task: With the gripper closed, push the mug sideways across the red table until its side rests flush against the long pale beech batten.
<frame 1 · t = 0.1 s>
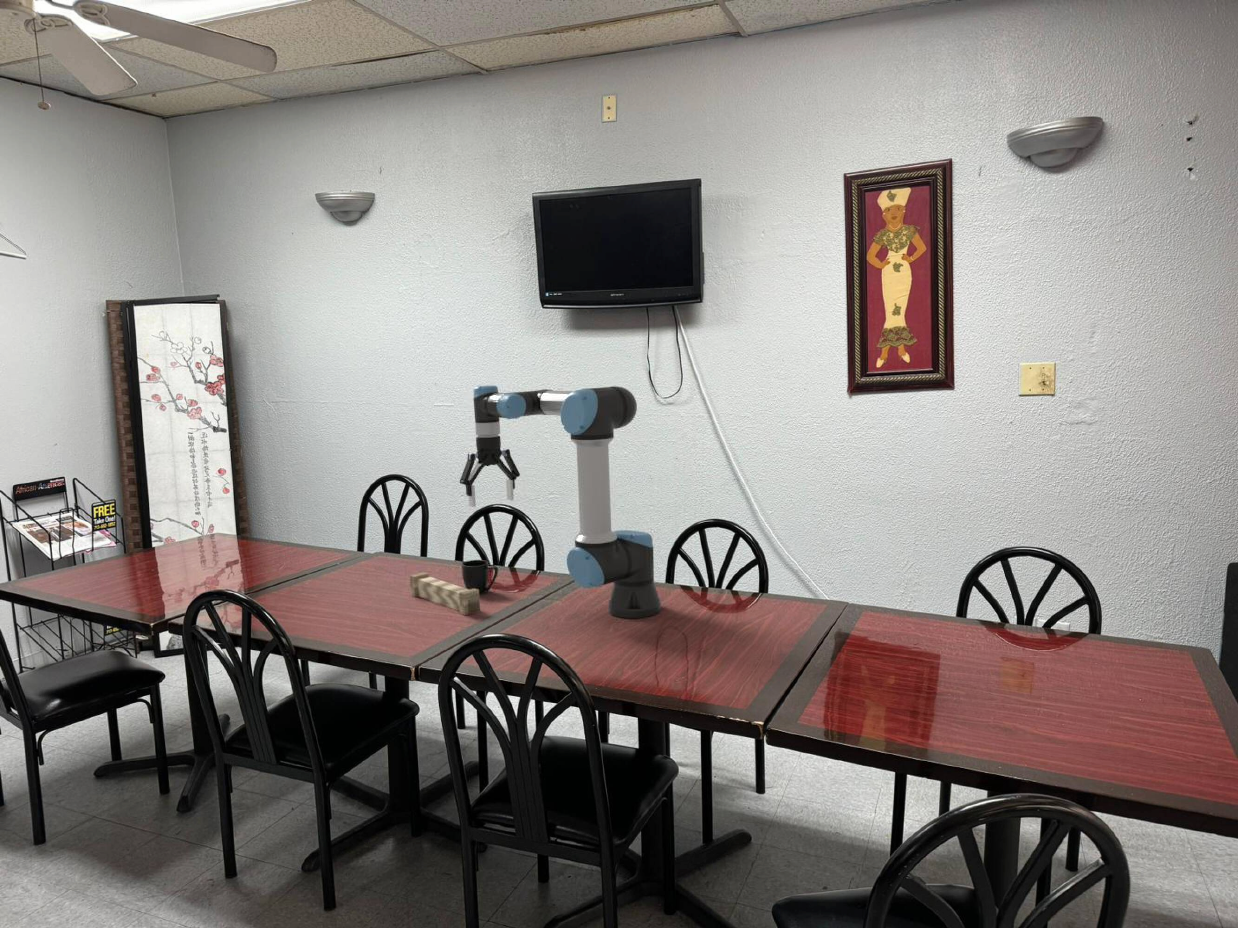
hand: (491, 503, 277), 28 cm above the table, fingers open, 13 cm apart
mug: (481, 593, 277), on the table
batten: (446, 602, 268), on the table
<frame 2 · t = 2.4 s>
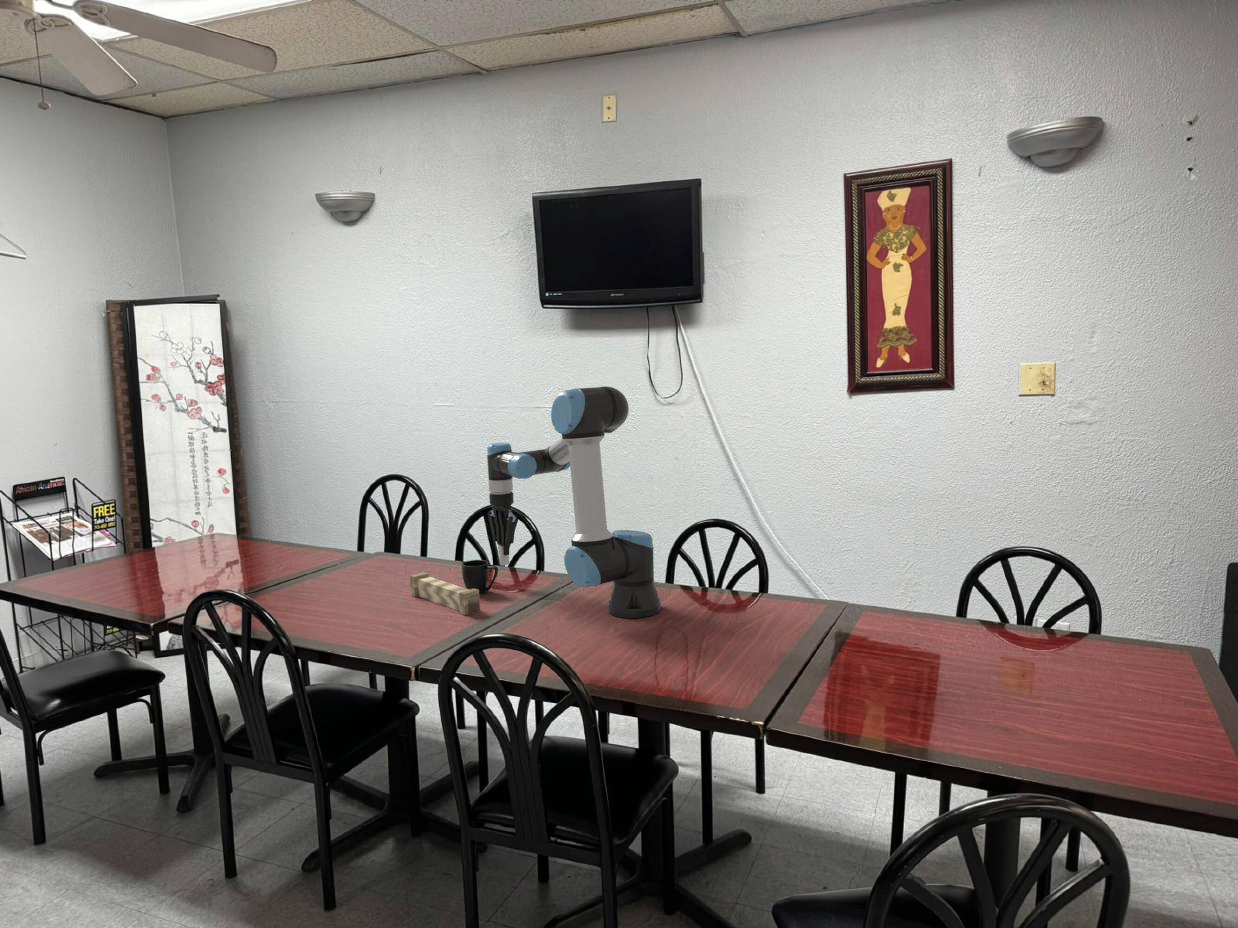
hand: (504, 564, 283), 7 cm above the table, fingers closed
nothing on the table moved.
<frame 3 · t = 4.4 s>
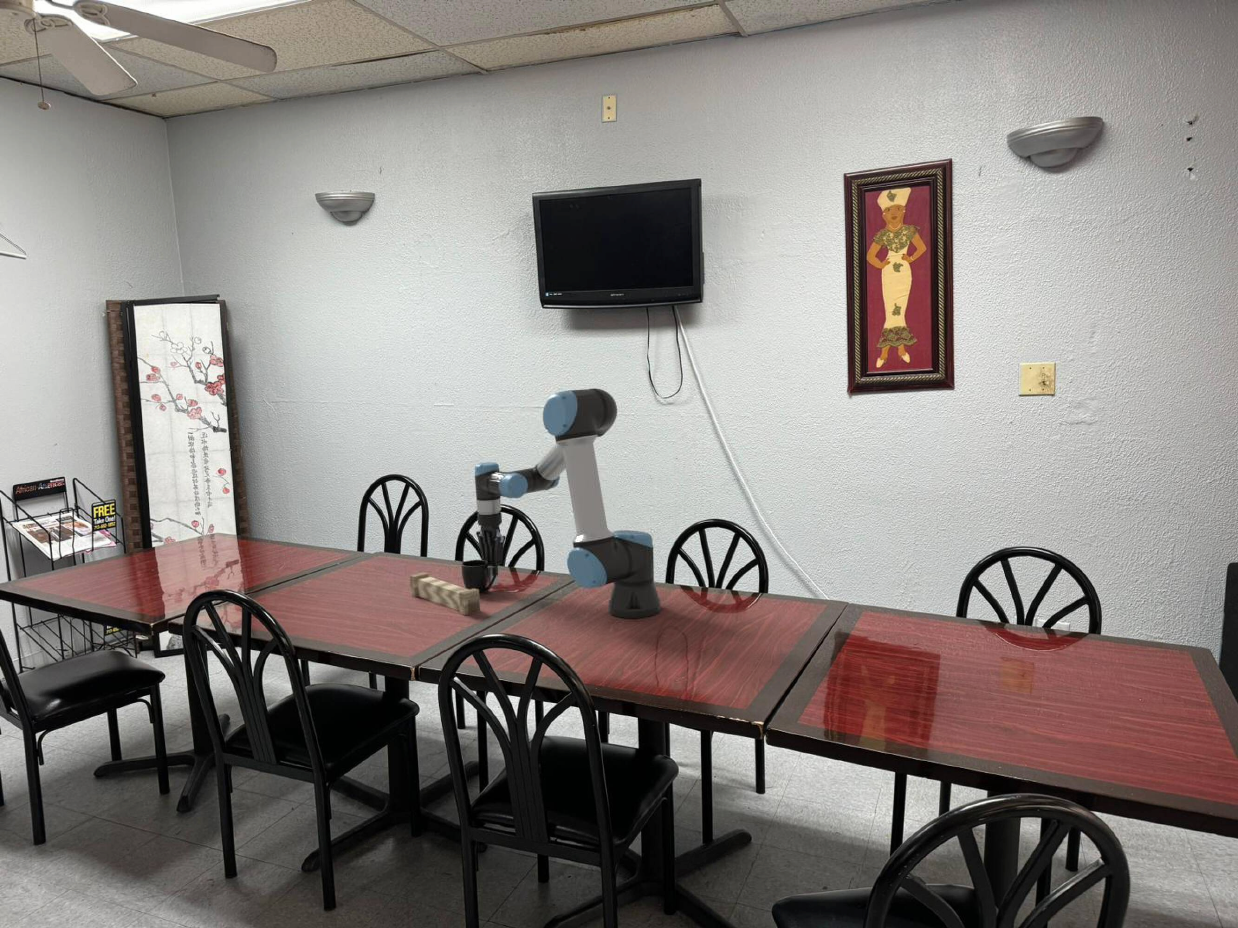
hand: (493, 584, 280), 2 cm above the table, fingers closed
mug: (481, 593, 277), on the table, touching gripper
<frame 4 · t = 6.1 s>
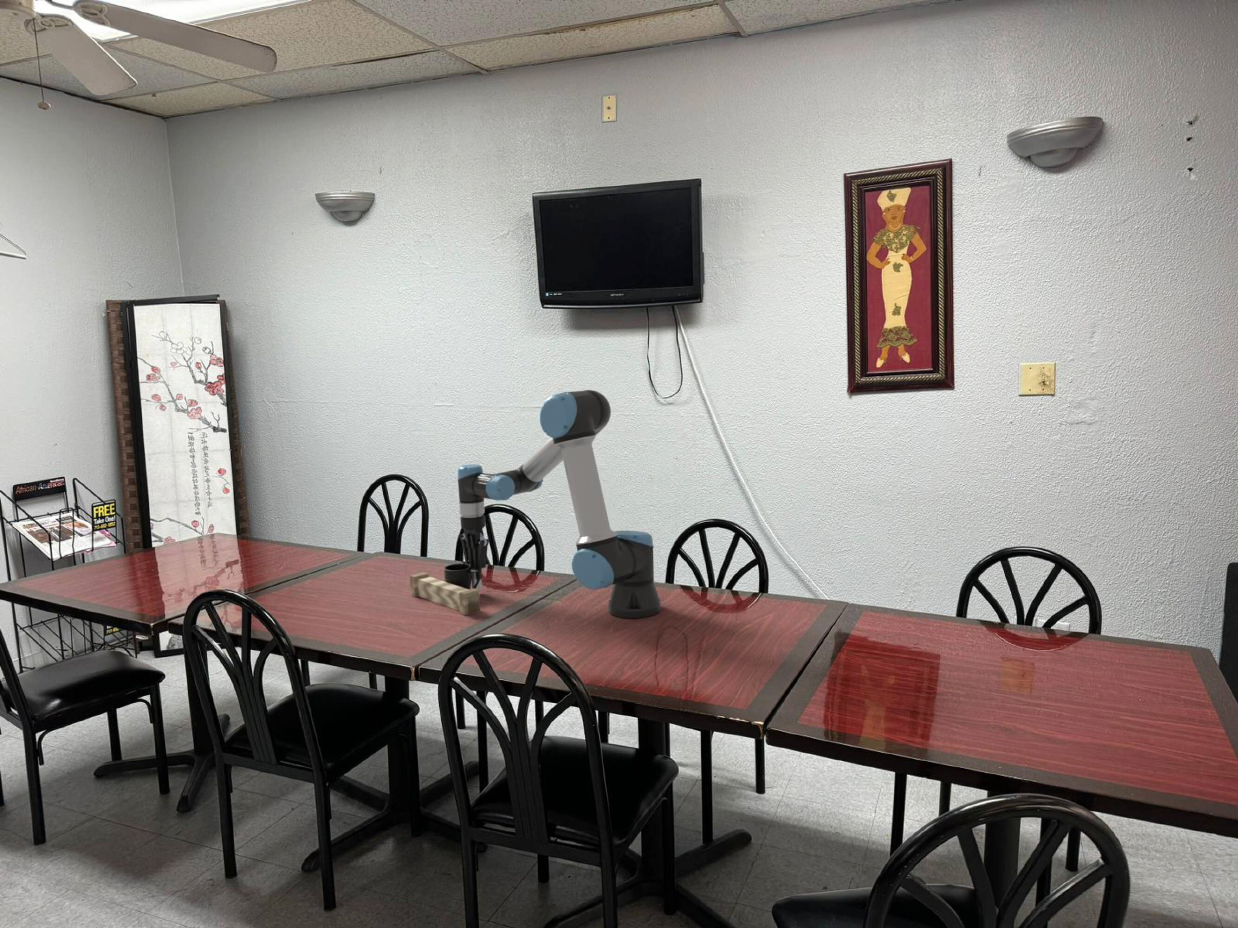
hand: (477, 588, 276), 2 cm above the table, fingers closed
mug: (465, 597, 273), on the table, touching gripper
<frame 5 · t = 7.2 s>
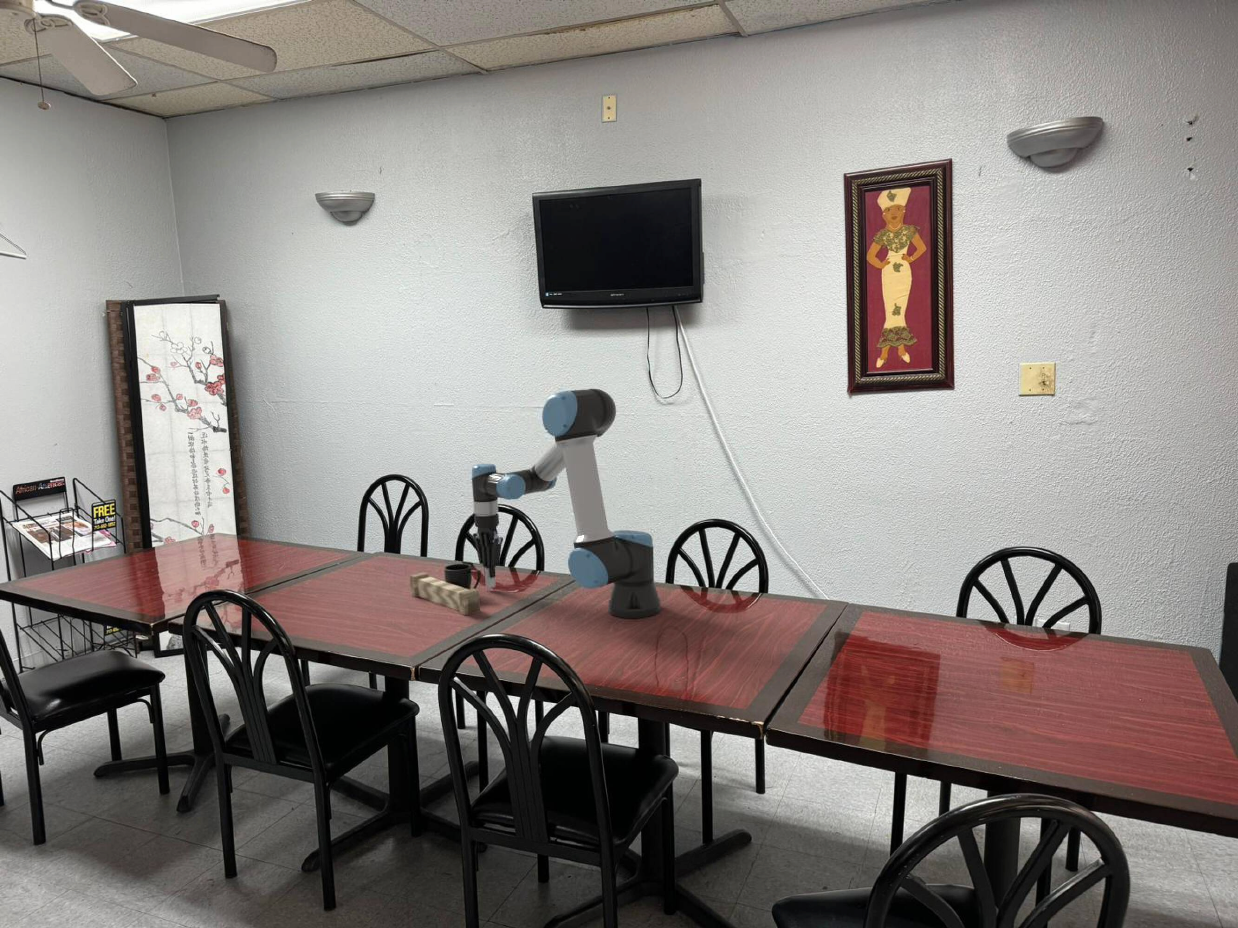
hand: (490, 586, 279), 1 cm above the table, fingers closed
mug: (464, 598, 273), on the table
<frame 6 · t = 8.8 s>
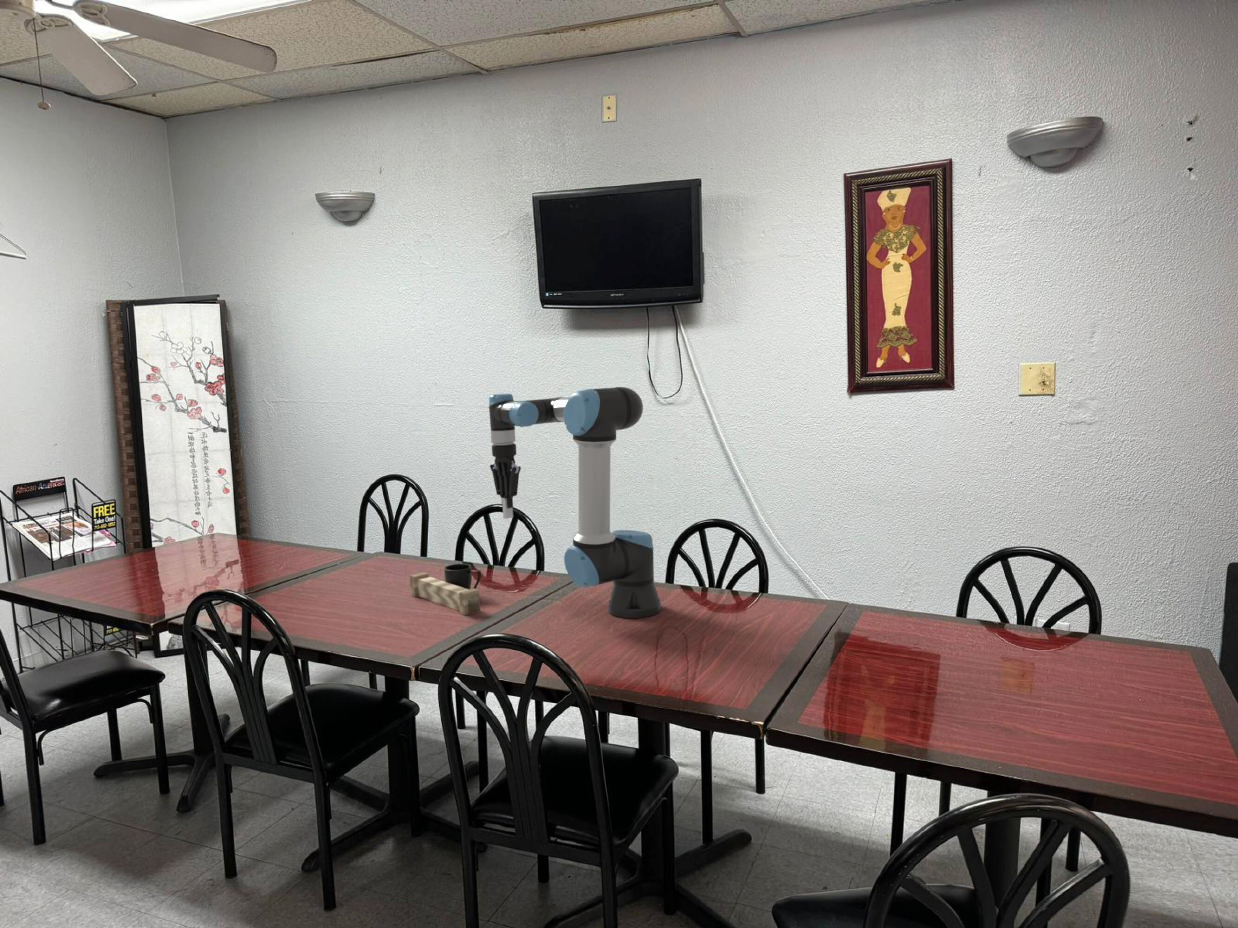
hand: (508, 517, 279), 23 cm above the table, fingers closed
nothing on the table moved.
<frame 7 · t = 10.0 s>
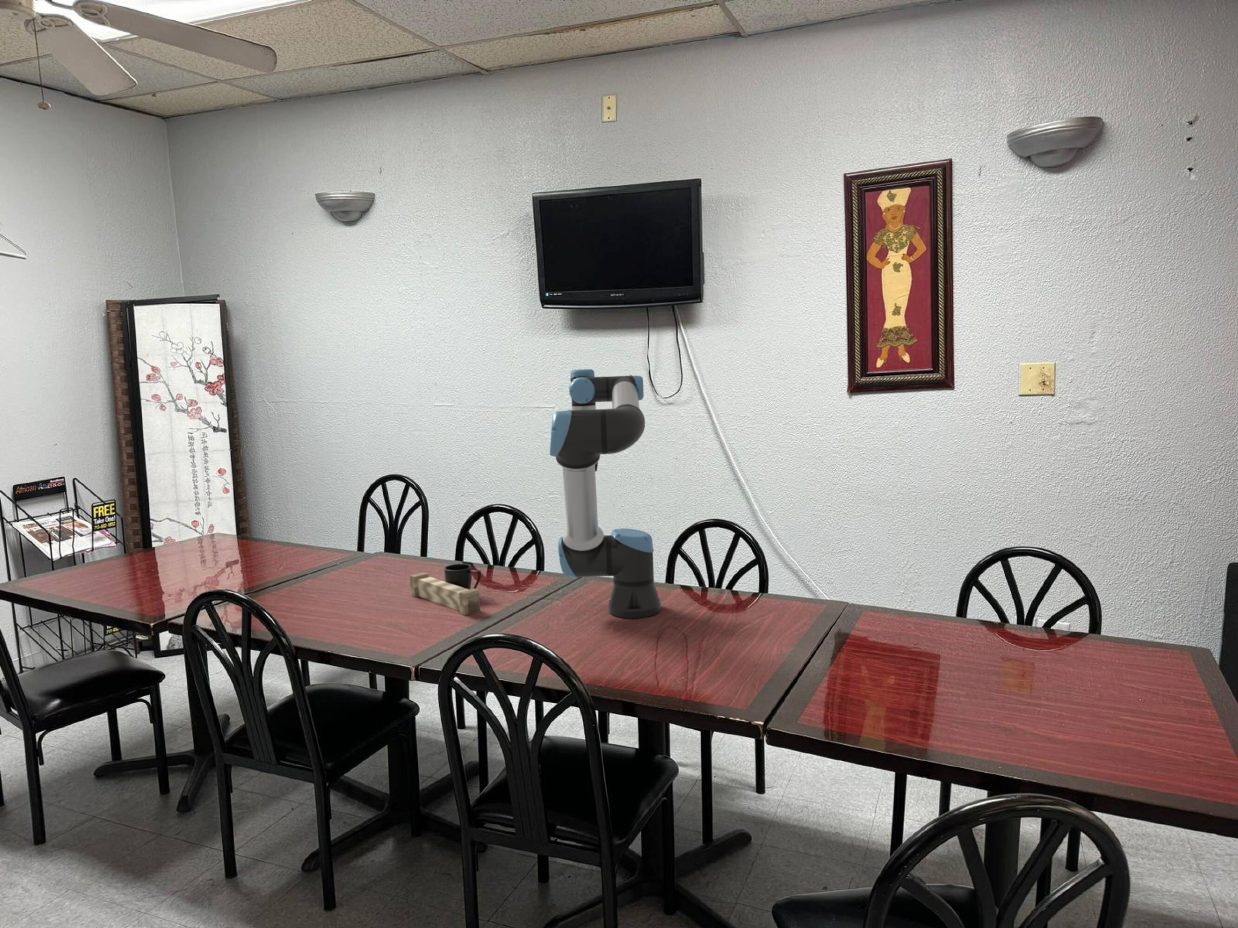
hand: (587, 493, 278), 29 cm above the table, fingers closed
nothing on the table moved.
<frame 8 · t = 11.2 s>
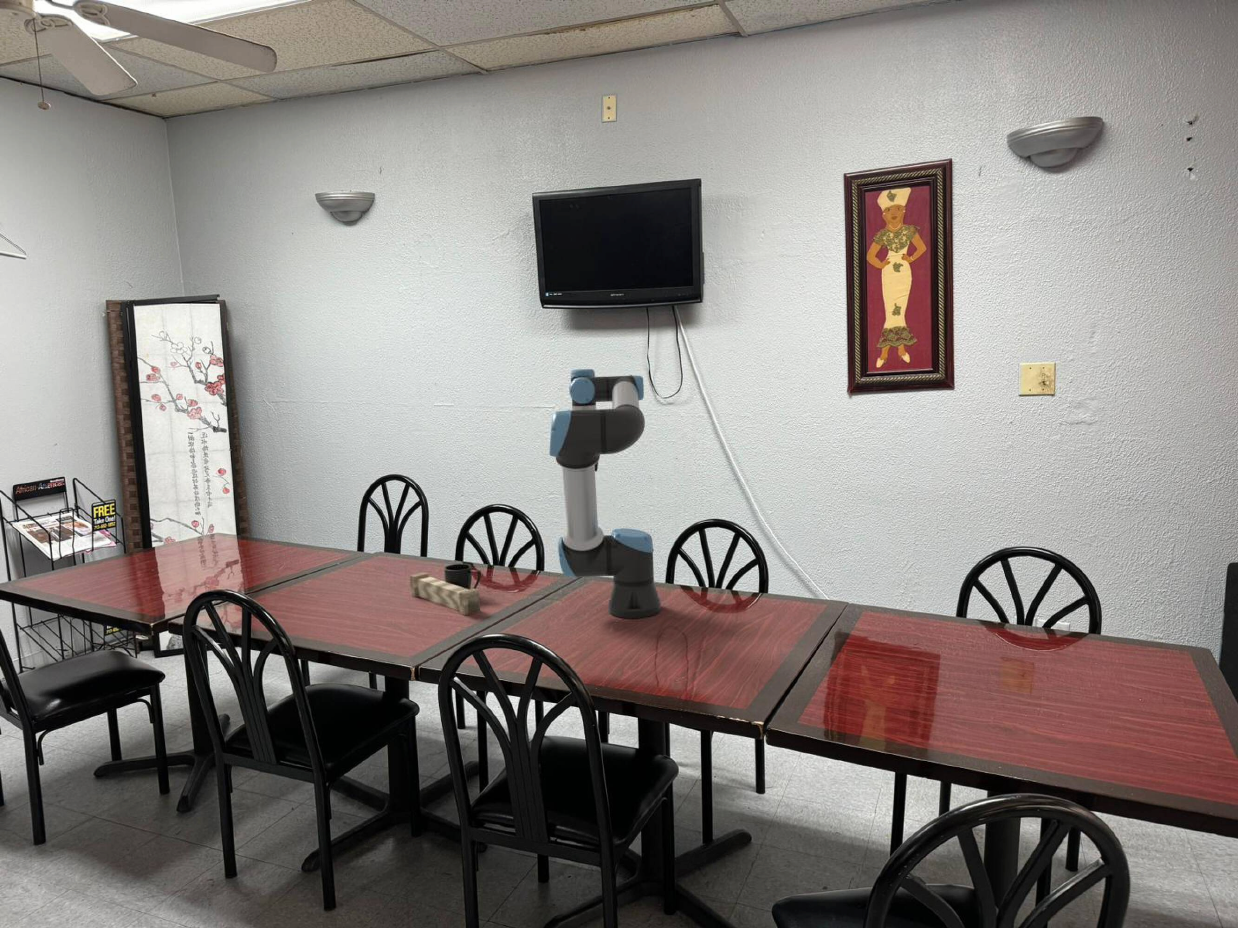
hand: (587, 493, 279), 29 cm above the table, fingers closed
nothing on the table moved.
at the end: mug inside the target area on the table beside the batten (0.4 cm from its centre), on the table; mug tilted 0° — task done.
